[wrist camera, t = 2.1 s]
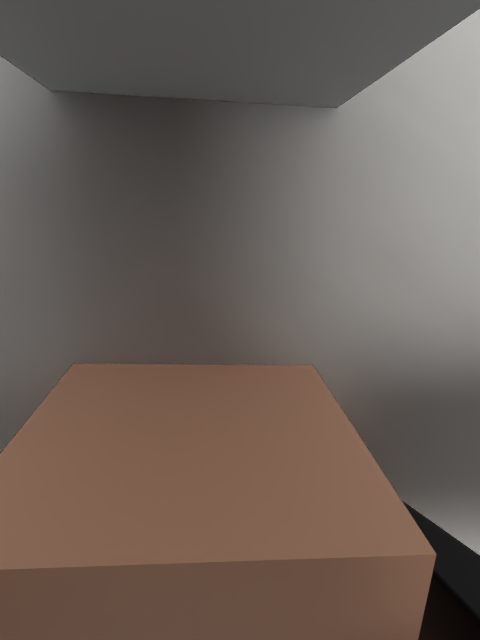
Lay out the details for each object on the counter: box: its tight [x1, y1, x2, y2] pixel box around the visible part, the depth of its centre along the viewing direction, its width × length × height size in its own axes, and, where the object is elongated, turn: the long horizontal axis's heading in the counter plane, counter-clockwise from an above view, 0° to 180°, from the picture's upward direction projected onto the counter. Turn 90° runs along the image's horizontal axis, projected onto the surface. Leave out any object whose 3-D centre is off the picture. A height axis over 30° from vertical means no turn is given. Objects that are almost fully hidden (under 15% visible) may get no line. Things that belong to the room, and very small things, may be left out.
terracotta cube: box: [0, 363, 436, 640], centre depth 7 cm, size 5×5×5 cm
